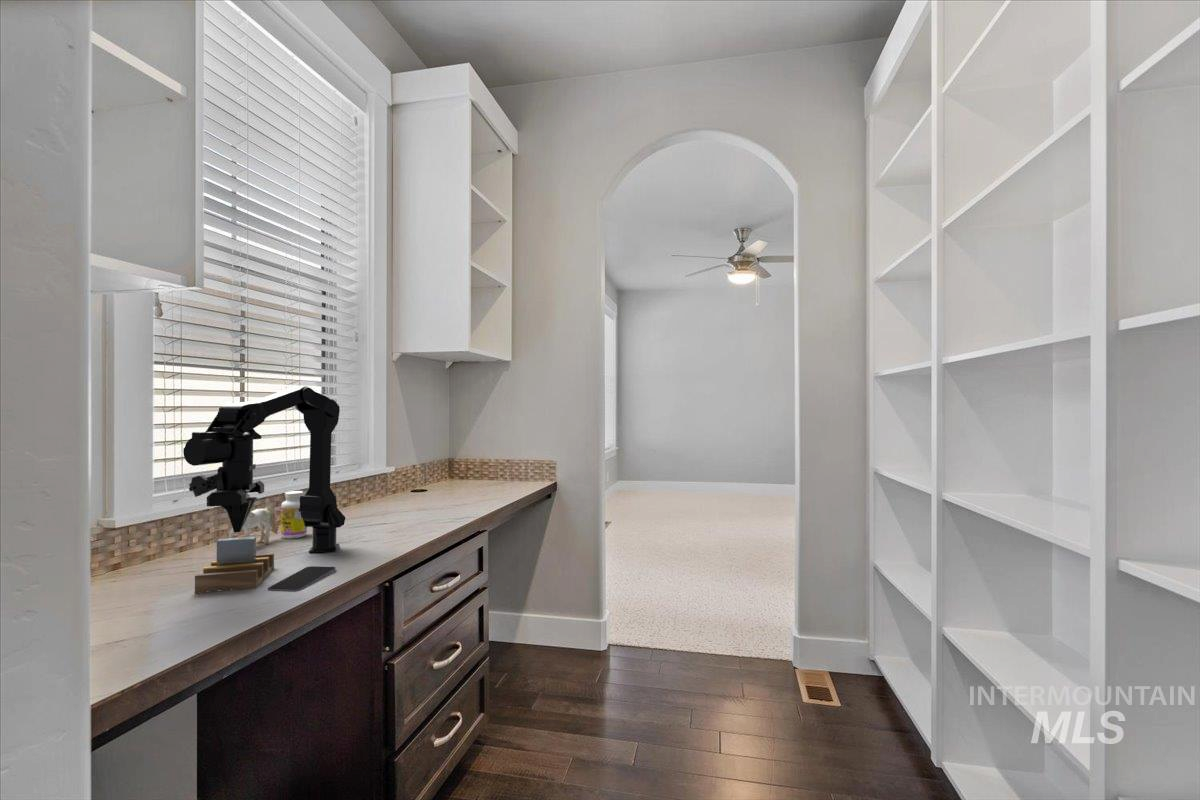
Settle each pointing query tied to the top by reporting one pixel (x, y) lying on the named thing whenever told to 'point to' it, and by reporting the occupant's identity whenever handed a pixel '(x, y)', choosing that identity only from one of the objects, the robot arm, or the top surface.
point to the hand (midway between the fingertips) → (237, 531)
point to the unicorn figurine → (260, 523)
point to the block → (236, 551)
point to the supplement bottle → (292, 516)
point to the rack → (234, 575)
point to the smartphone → (302, 578)
